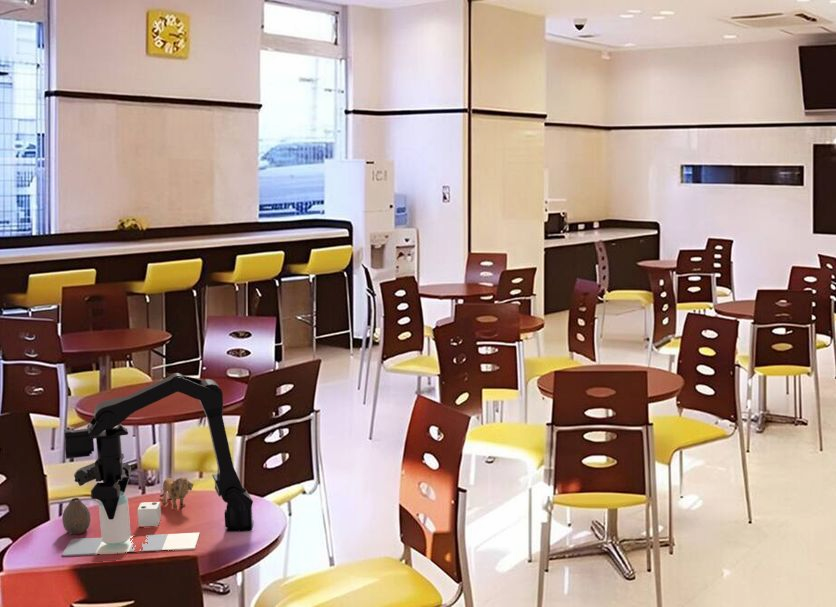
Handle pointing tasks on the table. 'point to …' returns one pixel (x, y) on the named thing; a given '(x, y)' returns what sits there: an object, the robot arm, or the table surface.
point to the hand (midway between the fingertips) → (114, 513)
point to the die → (149, 514)
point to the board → (154, 543)
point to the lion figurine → (176, 490)
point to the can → (115, 523)
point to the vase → (76, 517)
